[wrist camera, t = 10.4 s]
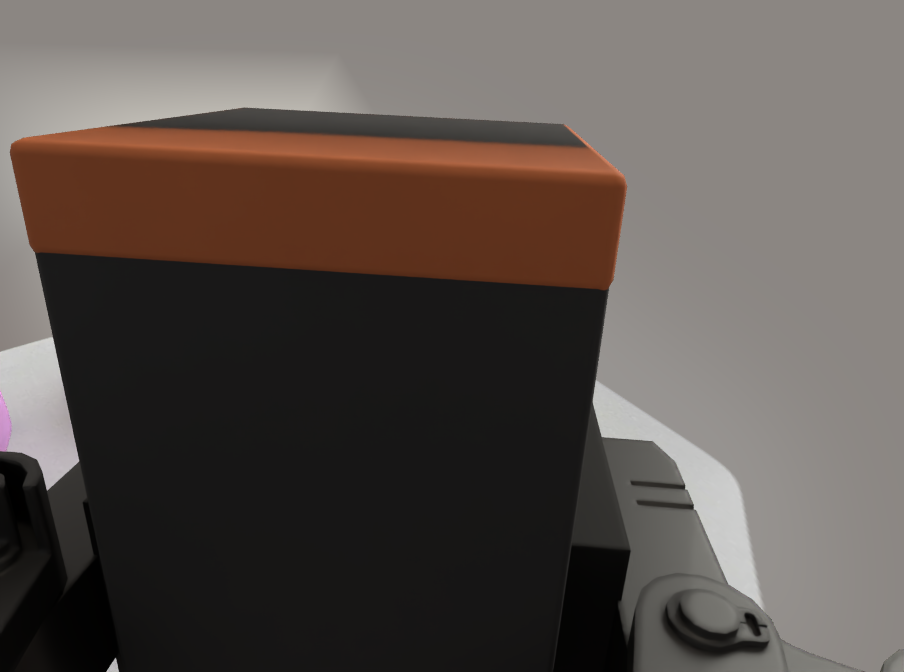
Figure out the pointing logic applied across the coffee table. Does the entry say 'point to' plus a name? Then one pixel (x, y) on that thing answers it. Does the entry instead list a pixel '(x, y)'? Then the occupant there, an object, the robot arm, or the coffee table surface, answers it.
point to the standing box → (327, 379)
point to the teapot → (4, 425)
